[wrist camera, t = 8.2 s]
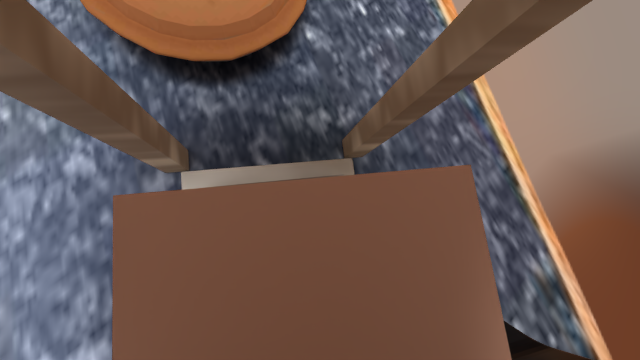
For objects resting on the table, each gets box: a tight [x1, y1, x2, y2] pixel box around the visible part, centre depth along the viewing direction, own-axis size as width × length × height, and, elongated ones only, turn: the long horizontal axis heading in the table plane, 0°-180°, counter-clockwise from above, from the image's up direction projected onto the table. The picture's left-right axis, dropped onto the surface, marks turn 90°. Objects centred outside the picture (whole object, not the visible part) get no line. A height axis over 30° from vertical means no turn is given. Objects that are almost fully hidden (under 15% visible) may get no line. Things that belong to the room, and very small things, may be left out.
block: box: [112, 165, 512, 360], centre depth 9 cm, size 5×5×13 cm
